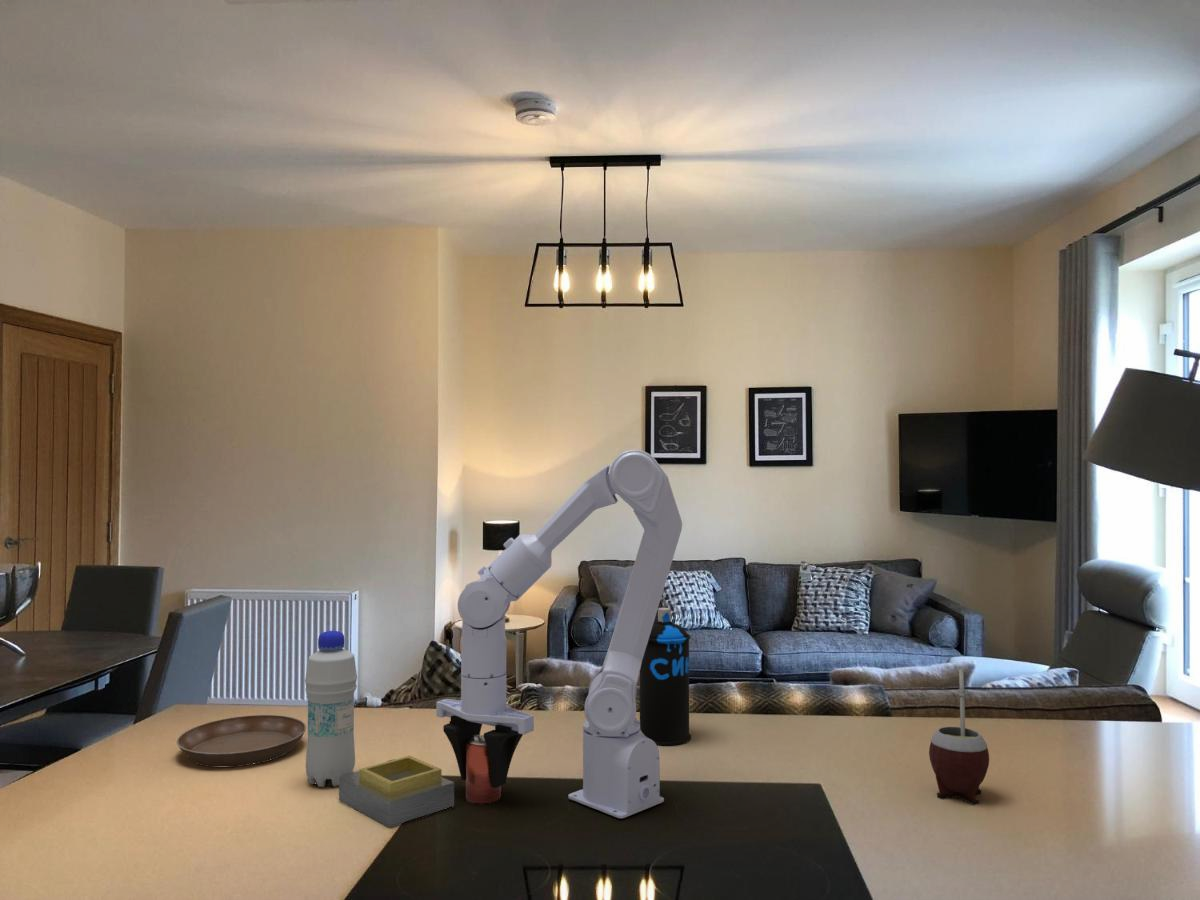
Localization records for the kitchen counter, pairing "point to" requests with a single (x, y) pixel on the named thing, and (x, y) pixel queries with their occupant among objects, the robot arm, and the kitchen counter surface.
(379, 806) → the grey socket block
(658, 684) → the aerosol can
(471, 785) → the red metal cylinder
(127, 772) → the kitchen counter surface
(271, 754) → the plant saucer
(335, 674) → the bottle
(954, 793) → the mate gourd
